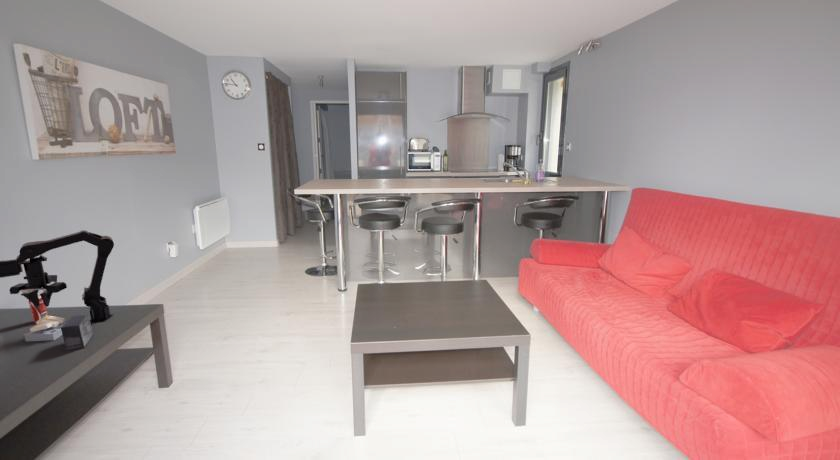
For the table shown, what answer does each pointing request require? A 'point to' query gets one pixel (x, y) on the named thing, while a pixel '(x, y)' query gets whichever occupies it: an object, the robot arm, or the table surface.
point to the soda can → (38, 310)
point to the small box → (77, 332)
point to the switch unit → (45, 334)
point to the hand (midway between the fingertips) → (42, 306)
